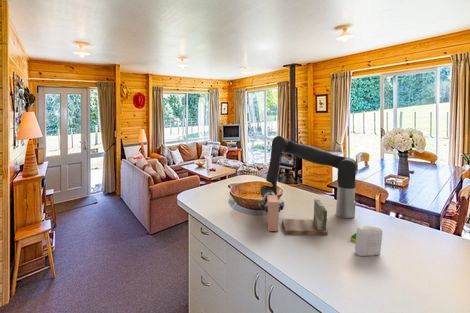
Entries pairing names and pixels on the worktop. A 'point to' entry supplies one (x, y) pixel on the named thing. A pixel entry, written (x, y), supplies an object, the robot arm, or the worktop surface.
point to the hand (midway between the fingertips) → (272, 210)
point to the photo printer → (368, 240)
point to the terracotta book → (272, 212)
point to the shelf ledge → (308, 222)
